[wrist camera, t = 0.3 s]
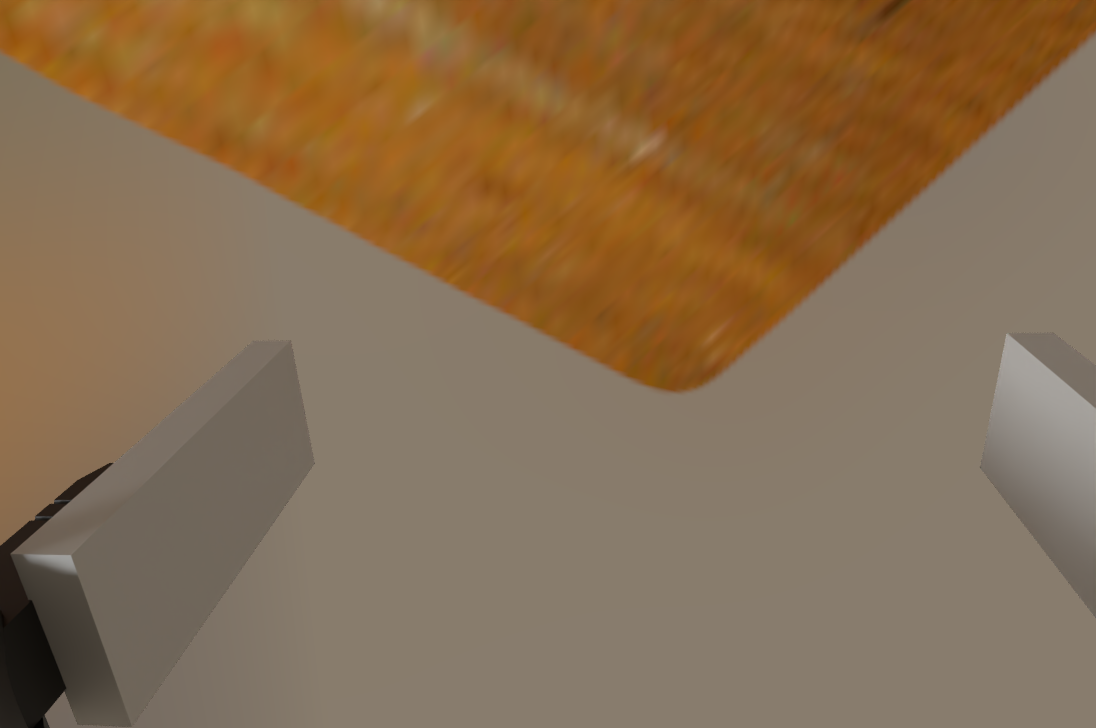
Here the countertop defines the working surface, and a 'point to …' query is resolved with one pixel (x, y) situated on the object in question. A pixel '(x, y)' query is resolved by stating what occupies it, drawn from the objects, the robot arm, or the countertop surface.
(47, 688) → the robot arm
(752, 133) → the countertop surface
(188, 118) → the countertop surface
